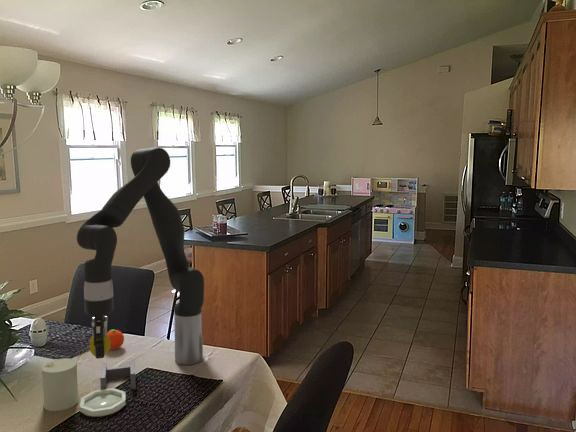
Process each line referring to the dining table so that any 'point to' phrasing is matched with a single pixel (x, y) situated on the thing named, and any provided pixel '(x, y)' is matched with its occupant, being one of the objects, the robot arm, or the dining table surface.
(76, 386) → the can
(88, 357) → the dining table surface
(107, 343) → the lemon
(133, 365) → the clip
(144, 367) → the dining table surface
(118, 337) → the clementine
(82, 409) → the dish
